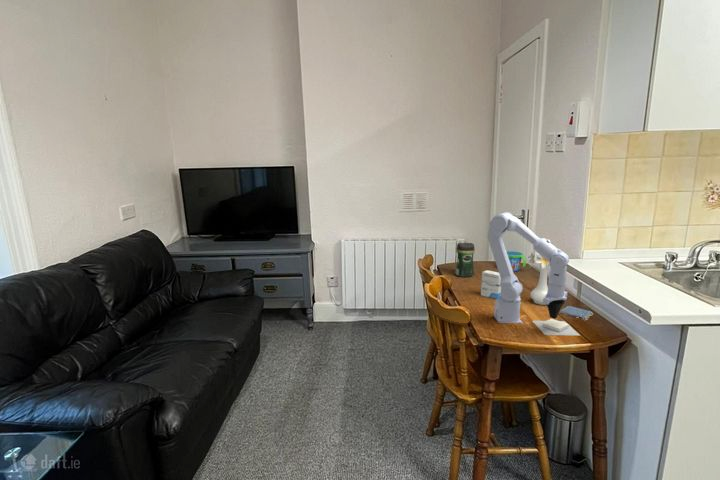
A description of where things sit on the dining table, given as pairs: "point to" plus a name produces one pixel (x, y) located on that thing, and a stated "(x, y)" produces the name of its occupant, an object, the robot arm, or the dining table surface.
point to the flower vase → (542, 286)
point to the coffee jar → (465, 259)
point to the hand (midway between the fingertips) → (553, 317)
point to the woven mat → (577, 312)
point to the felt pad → (552, 332)
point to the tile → (555, 325)
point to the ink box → (491, 284)
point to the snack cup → (516, 259)
